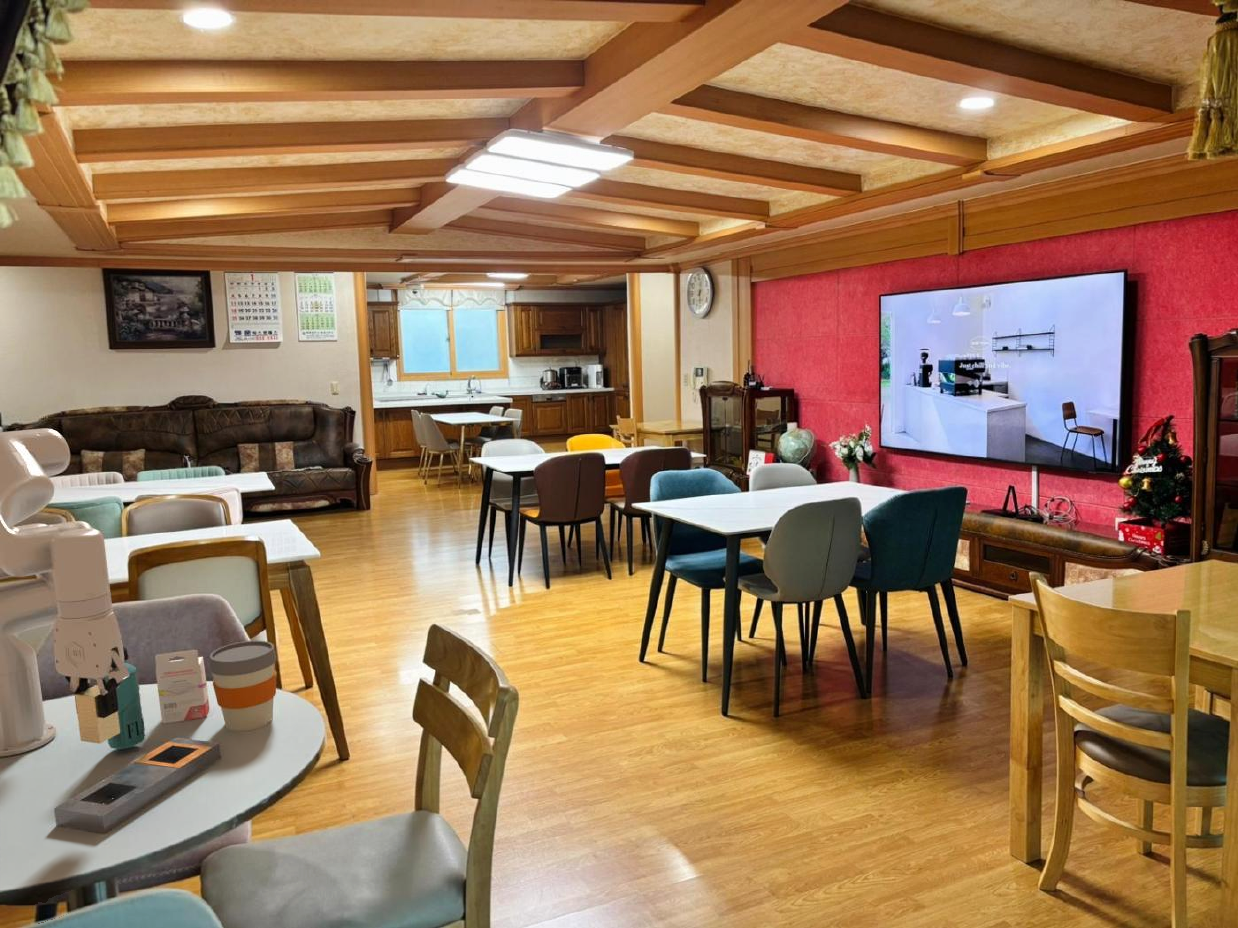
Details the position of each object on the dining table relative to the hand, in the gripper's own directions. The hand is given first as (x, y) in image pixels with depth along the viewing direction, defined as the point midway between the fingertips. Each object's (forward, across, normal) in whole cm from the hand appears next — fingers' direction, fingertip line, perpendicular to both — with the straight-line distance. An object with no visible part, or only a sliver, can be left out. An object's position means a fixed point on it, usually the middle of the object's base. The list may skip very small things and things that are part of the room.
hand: (97, 711), depth 147 cm
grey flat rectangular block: (+17, 0, +7) cm, 19 cm away
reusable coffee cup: (+18, 0, +35) cm, 39 cm away
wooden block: (+4, 0, 0) cm, 4 cm away
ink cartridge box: (+18, -15, +34) cm, 41 cm away
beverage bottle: (+18, -15, +19) cm, 30 cm away
